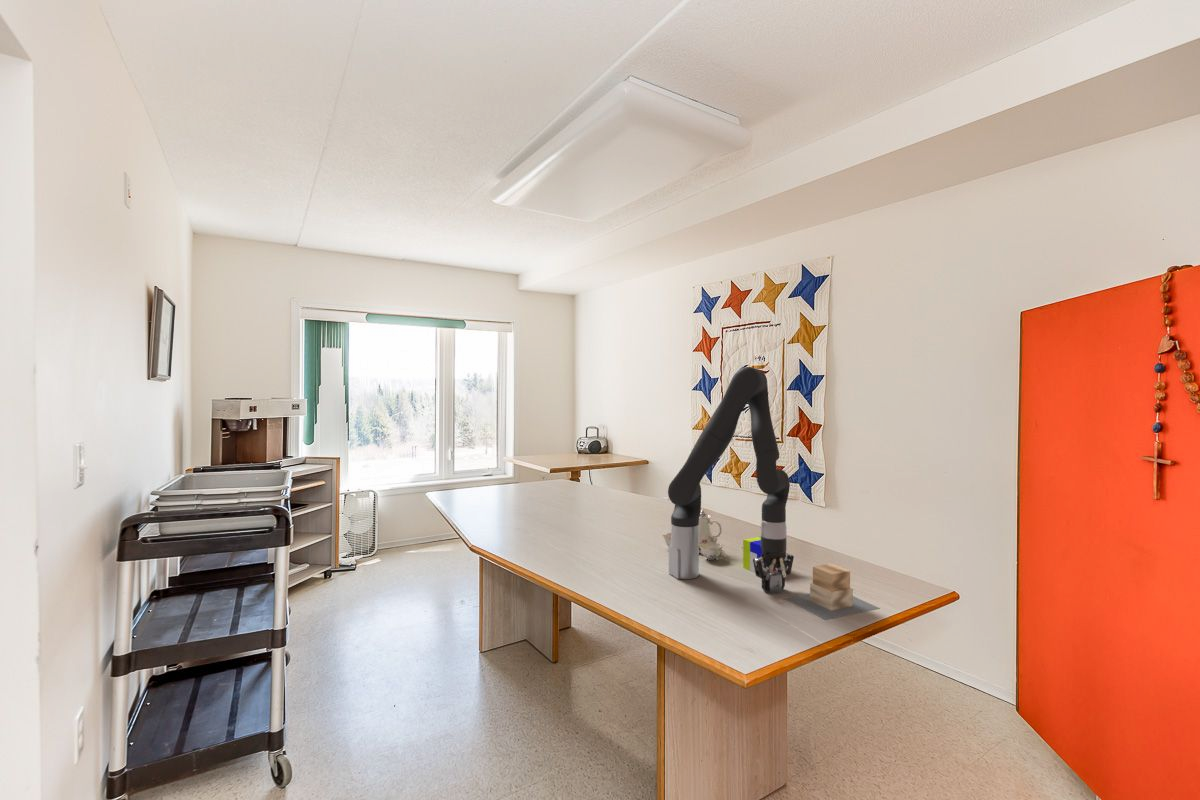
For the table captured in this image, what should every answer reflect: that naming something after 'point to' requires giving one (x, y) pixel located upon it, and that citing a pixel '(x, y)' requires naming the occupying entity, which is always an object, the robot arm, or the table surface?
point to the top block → (831, 577)
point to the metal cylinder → (775, 582)
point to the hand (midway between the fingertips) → (773, 589)
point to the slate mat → (828, 614)
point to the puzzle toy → (752, 552)
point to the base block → (831, 597)
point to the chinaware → (705, 538)
